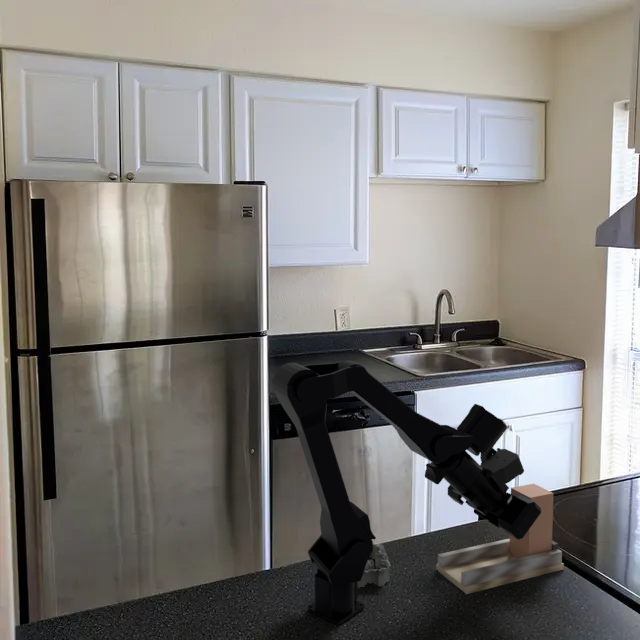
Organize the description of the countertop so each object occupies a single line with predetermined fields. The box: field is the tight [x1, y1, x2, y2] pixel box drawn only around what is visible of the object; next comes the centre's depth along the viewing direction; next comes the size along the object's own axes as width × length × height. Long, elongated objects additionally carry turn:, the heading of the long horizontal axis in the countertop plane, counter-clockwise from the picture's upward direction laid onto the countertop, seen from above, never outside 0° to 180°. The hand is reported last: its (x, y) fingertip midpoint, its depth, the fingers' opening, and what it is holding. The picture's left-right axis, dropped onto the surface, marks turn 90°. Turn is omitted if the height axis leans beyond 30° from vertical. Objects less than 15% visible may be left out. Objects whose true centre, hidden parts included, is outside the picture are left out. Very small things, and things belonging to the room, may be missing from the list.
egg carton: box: [357, 543, 392, 589], centre depth 114 cm, size 11×8×4 cm
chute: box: [435, 537, 565, 595], centre depth 114 cm, size 20×9×4 cm, turn 113°
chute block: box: [509, 483, 554, 559], centre depth 116 cm, size 5×5×12 cm
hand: (518, 528), depth 115 cm, fingers closed, pressing on chute block
